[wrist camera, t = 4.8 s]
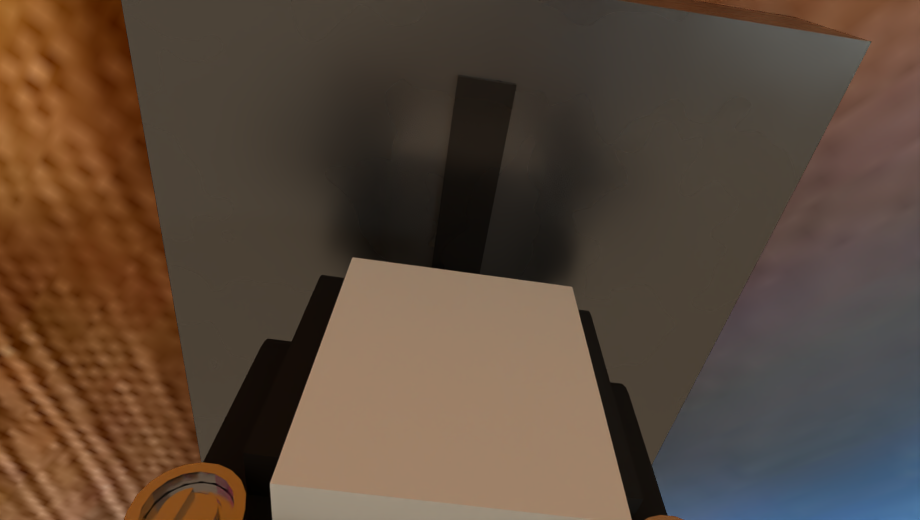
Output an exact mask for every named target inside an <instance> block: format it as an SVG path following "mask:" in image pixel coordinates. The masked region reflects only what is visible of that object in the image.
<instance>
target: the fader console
mask: <svg viewBox="0 0 920 520" xmlns="http://www.w3.org/2000/svg"><path fill="white" fill-rule="evenodd" d="M121 2H122V8H123V14H124V19H125V25H126V31H127V37H128V42H129V48H130V54H131V60H132V66H133V71H134V77H135V83H136V89H137V94H138V100H139V106H140V112H141V117H142V123H143V129H144V135H145V140H146V146H147V152H148V158H149V163H150V169H151V175H152V181H153V186H154V192H155V198H156V204H157V209H158V215H159V221H160V227H161V232H162V238H163V244H164V250H165V256H166V261H167V267H168V273H169V279H170V284H171V290H172V296H173V302H174V307H175V313H176V319H177V325H178V330H179V336H180V342H181V348H182V353H183V359H184V365H185V371H186V376H187V382H188V388H189V394H190V399H191V405H192V411H193V417H194V422H195V428H196V434H197V440H198V446H199V451H200V457H201V462H203V461H204V459H205V457H206V455H207V453H208V451H209V449H210V447H211V445H212V443H213V441H214V439H215V437H216V435H217V433H218V431H219V429H220V427H221V425H222V423H223V421H224V419H225V417H226V415H227V413H228V411H229V409H230V407H231V405H232V403H233V401H234V399H235V397H236V395H237V393H238V391H239V389H240V387H241V385H242V383H243V381H244V379H245V377H246V375H247V373H248V371H249V369H250V367H251V365H252V363H253V361H254V359H255V357H256V355H257V353H258V351H259V349H260V347H261V346H262V344H263V343H264V341H265V340H267V339H276V340H284V341H292V339H293V337H294V335H295V332H296V330H297V328H298V325H299V323H300V321H301V318H302V316H303V314H304V312H305V309H306V307H307V305H308V302H309V300H310V298H311V296H312V293H313V291H314V289H315V286H316V284H317V282H318V279H319V278H320V276H321V275H327V276H334V277H342V278H345V276H346V273H347V271H348V268H349V265H350V262H351V260H352V257H354V258H362V259H369V260H376V261H384V262H391V263H399V264H406V265H414V266H421V267H429V268H436V269H443V270H451V271H458V272H466V273H473V274H481V275H488V276H495V277H503V278H510V279H518V280H525V281H533V282H540V283H547V284H555V285H562V286H570V287H572V288H573V292H574V296H575V300H576V304H577V307H578V309H579V310H586V311H589V312H590V314H591V316H592V320H593V323H594V327H595V330H596V334H597V337H598V341H599V344H600V348H601V351H602V355H603V358H604V362H605V366H606V369H607V373H608V376H609V380H610V382H613V383H621V384H623V385H624V386H625V387H626V389H627V391H628V393H629V396H630V399H631V402H632V405H633V408H634V412H635V415H636V418H637V421H638V424H639V427H640V431H641V434H642V437H643V440H644V443H645V446H646V450H647V453H648V456H649V459H650V462H651V465H652V463H653V461H654V459H655V457H656V455H657V454H658V452H659V450H660V448H661V446H662V444H663V442H664V440H665V438H666V436H667V434H668V432H669V430H670V429H671V427H672V425H673V423H674V421H675V419H676V417H677V415H678V413H679V411H680V409H681V407H682V405H683V403H684V402H685V400H686V398H687V396H688V394H689V392H690V390H691V388H692V386H693V384H694V382H695V380H696V378H697V377H698V375H699V373H700V371H701V369H702V367H703V365H704V363H705V361H706V359H707V357H708V355H709V353H710V352H711V350H712V348H713V346H714V344H715V342H716V340H717V338H718V336H719V334H720V332H721V330H722V328H723V327H724V325H725V323H726V321H727V319H728V317H729V315H730V313H731V311H732V309H733V307H734V305H735V303H736V301H737V300H738V298H739V296H740V294H741V292H742V290H743V288H744V286H745V284H746V282H747V280H748V278H749V276H750V275H751V273H752V271H753V269H754V267H755V265H756V263H757V261H758V259H759V257H760V255H761V253H762V251H763V250H764V248H765V246H766V244H767V242H768V240H769V238H770V236H771V234H772V232H773V230H774V228H775V226H776V224H777V223H778V221H779V219H780V217H781V215H782V213H783V211H784V209H785V207H786V205H787V203H788V201H789V199H790V198H791V196H792V194H793V192H794V190H795V188H796V186H797V184H798V182H799V180H800V178H801V176H802V174H803V173H804V171H805V169H806V167H807V165H808V163H809V161H810V159H811V157H812V155H813V153H814V151H815V149H816V147H817V146H818V144H819V142H820V140H821V138H822V136H823V134H824V132H825V130H826V128H827V126H828V124H829V122H830V121H831V119H832V117H833V115H834V113H835V111H836V109H837V107H838V105H839V103H840V101H841V99H842V97H843V96H844V94H845V92H846V90H847V88H848V86H849V84H850V82H851V80H852V78H853V76H854V74H855V72H856V71H857V69H858V67H859V65H860V63H861V61H862V59H863V57H864V55H865V53H866V51H867V49H868V47H869V45H870V44H871V41H868V40H864V39H861V38H858V37H855V36H852V35H849V34H846V33H843V32H839V31H836V30H833V29H830V28H827V27H824V26H821V25H818V24H815V23H811V22H808V21H805V20H802V19H799V18H796V17H791V16H785V15H779V14H772V13H766V12H760V11H754V10H748V9H742V8H736V7H730V6H724V5H718V4H712V3H706V2H700V1H694V0H121Z"/></svg>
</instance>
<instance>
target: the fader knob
mask: <svg viewBox="0 0 920 520" xmlns="http://www.w3.org/2000/svg"><path fill="white" fill-rule="evenodd" d="M270 494H271V508H272V520H632V518H631V515H630V511H629V507H628V503H627V499H626V495H625V491H624V487H623V483H622V479H621V475H620V472H619V468H618V464H617V460H616V456H615V452H614V448H613V444H612V440H611V436H610V432H609V429H608V425H607V421H606V417H605V413H604V409H603V405H602V401H601V397H600V393H599V389H598V386H597V382H596V378H595V374H594V370H593V366H592V362H591V358H590V354H589V350H588V346H587V343H586V339H585V335H584V331H583V327H582V323H581V319H580V315H579V311H578V307H577V304H576V300H575V296H574V292H573V288H572V287H570V286H562V285H555V284H547V283H540V282H533V281H525V280H518V279H510V278H503V277H495V276H488V275H481V274H473V273H466V272H458V271H451V270H443V269H436V268H429V267H421V266H414V265H406V264H399V263H391V262H384V261H376V260H369V259H362V258H354V257H352V260H351V262H350V265H349V268H348V271H347V273H346V276H345V279H344V282H343V284H342V287H341V290H340V293H339V295H338V298H337V301H336V304H335V306H334V309H333V312H332V314H331V317H330V320H329V323H328V325H327V328H326V331H325V334H324V336H323V339H322V342H321V345H320V347H319V350H318V353H317V356H316V358H315V361H314V364H313V366H312V369H311V372H310V375H309V377H308V380H307V383H306V386H305V388H304V391H303V394H302V397H301V399H300V402H299V405H298V408H297V410H296V413H295V416H294V419H293V421H292V424H291V427H290V429H289V432H288V435H287V438H286V440H285V443H284V446H283V449H282V451H281V454H280V457H279V460H278V462H277V465H276V468H275V471H274V473H273V476H272V479H271V482H270Z"/></svg>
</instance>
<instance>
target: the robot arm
mask: <svg viewBox="0 0 920 520" xmlns="http://www.w3.org/2000/svg"><path fill="white" fill-rule="evenodd" d="M344 279H345V278H342V277H334V276H327V275H321V276H320V278H319V279H318V282H317V284H316V286H315V289H314V291H313V293H312V296H311V298H310V300H309V302H308V305H307V307H306V309H305V312H304V314H303V316H302V318H301V321H300V323H299V325H298V328H297V330H296V332H295V335H294V337H293V339H292V341H284V340H276V339H267V340H265V341H264V343H263V344H262V346H261V347H260V349H259V351H258V353H257V355H256V357H255V359H254V361H253V363H252V365H251V367H250V369H249V371H248V373H247V375H246V377H245V379H244V381H243V383H242V385H241V387H240V389H239V391H238V393H237V395H236V397H235V399H234V401H233V403H232V405H231V407H230V409H229V411H228V413H227V415H226V417H225V419H224V421H223V423H222V425H221V427H220V429H219V431H218V433H217V435H216V437H215V439H214V441H213V443H212V445H211V447H210V449H209V451H208V453H207V455H206V457H205V459H204V461H203V462H201V463H193V464H186V465H182V466H180V467H177V468H174V469H172V470H169V471H167V472H165V473H163V474H162V475H160V476H159V477H157V478H155V479H154V480H152V481H151V482H150V483H149V484H148V485H147V486H146V487H145V488H144V489H143V490H142V491H141V492H139V493H138V494H137V496H136V497H135V499H134V501H133V502H132V504H131V506H130V507H129V509H128V511H127V513H126V516H125V518H124V520H272V508H271V494H270V482H271V479H272V476H273V473H274V471H275V468H276V465H277V462H278V460H279V457H280V454H281V451H282V449H283V446H284V443H285V440H286V438H287V435H288V432H289V429H290V427H291V424H292V421H293V419H294V416H295V413H296V410H297V408H298V405H299V402H300V399H301V397H302V394H303V391H304V388H305V386H306V383H307V380H308V377H309V375H310V372H311V369H312V366H313V364H314V361H315V358H316V356H317V353H318V350H319V347H320V345H321V342H322V339H323V336H324V334H325V331H326V328H327V325H328V323H329V320H330V317H331V314H332V312H333V309H334V306H335V304H336V301H337V298H338V295H339V293H340V290H341V287H342V284H343V282H344ZM578 311H579V315H580V319H581V323H582V327H583V331H584V335H585V339H586V343H587V346H588V350H589V354H590V358H591V362H592V366H593V370H594V374H595V378H596V382H597V386H598V389H599V393H600V397H601V401H602V405H603V409H604V413H605V417H606V421H607V425H608V429H609V432H610V436H611V440H612V444H613V448H614V452H615V456H616V460H617V464H618V468H619V472H620V475H621V479H622V483H623V487H624V491H625V495H626V499H627V503H628V507H629V511H630V515H631V518H632V520H683V519H680V518H678V517H675V516H667V513H666V510H665V507H664V503H663V500H662V497H661V494H660V491H659V488H658V484H657V481H656V478H655V475H654V472H653V469H652V465H651V462H650V459H649V456H648V453H647V450H646V446H645V443H644V440H643V437H642V434H641V431H640V427H639V424H638V421H637V418H636V415H635V412H634V408H633V405H632V402H631V399H630V396H629V393H628V391H627V389H626V387H625V386H624V385H623V384H621V383H613V382H610V380H609V376H608V373H607V369H606V366H605V362H604V358H603V355H602V351H601V348H600V344H599V341H598V337H597V334H596V330H595V327H594V323H593V320H592V316H591V314H590V312H589V311H586V310H579V309H578Z"/></svg>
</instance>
